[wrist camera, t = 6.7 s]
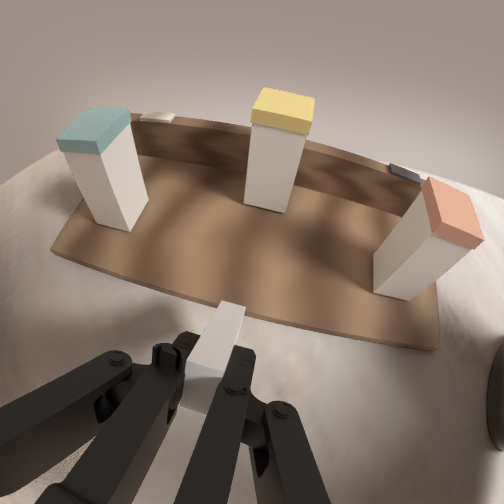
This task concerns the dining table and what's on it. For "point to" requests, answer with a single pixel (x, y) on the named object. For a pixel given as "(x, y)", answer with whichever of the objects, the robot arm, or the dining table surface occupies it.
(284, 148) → the middle button
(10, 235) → the dining table surface
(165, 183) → the button console
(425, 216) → the button
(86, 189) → the button
